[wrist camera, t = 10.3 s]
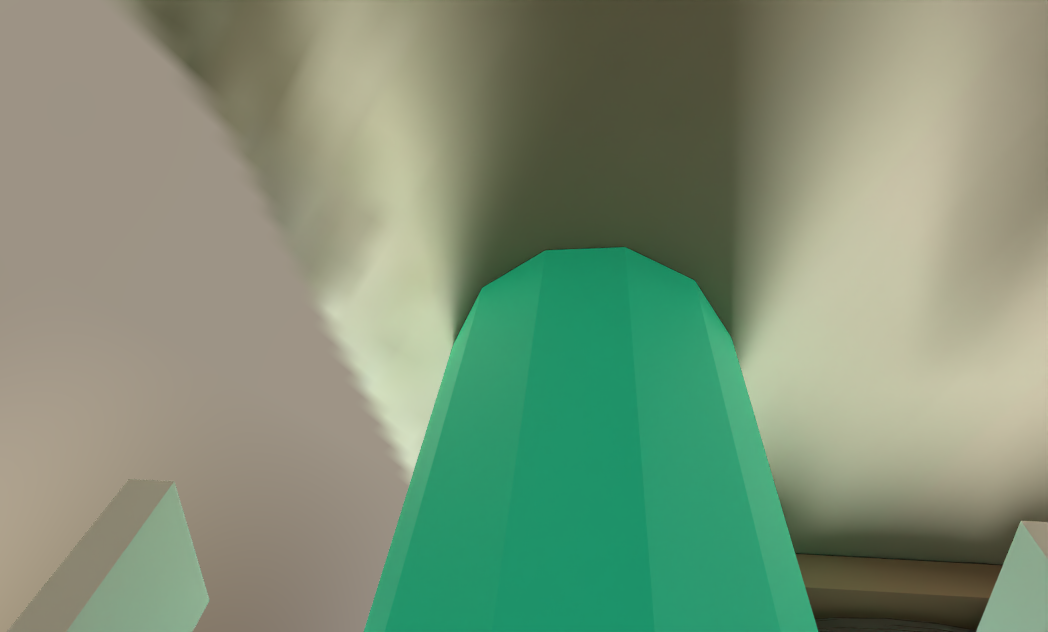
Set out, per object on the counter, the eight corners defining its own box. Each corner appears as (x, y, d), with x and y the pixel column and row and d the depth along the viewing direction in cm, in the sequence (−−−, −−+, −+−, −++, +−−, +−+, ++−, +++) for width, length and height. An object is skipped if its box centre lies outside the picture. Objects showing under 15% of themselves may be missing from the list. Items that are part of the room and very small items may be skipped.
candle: (397, 376, 17) (72, 1182, 6) (581, 183, 14) (541, 999, 4) (597, 518, 18) (598, 1350, 8) (795, 368, 16) (1178, 1299, 5)
